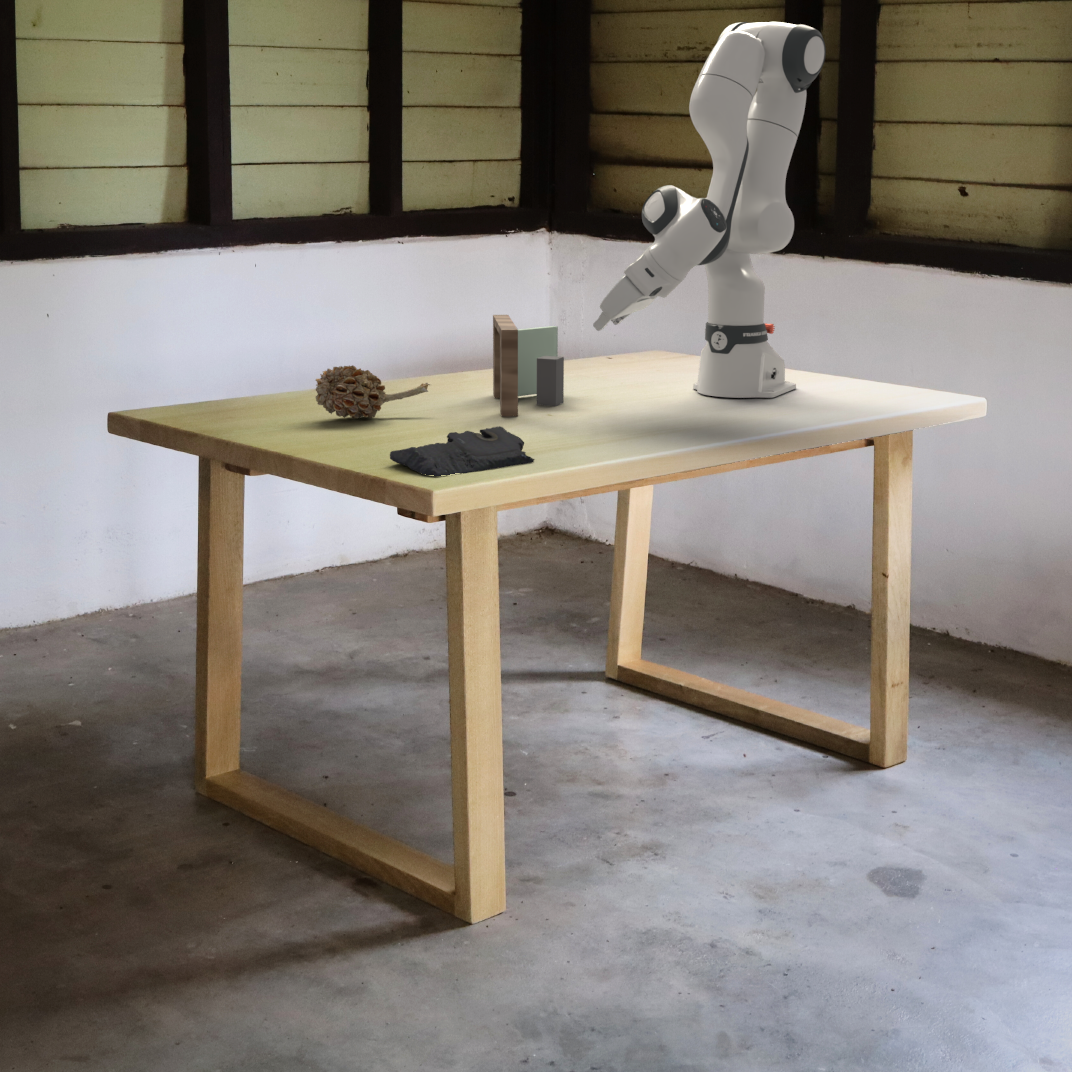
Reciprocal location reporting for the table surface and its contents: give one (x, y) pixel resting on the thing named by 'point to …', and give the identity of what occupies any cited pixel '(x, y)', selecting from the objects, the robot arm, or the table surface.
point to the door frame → (505, 364)
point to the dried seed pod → (356, 392)
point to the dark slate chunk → (465, 453)
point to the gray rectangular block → (550, 380)
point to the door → (534, 355)
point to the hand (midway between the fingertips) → (605, 325)
